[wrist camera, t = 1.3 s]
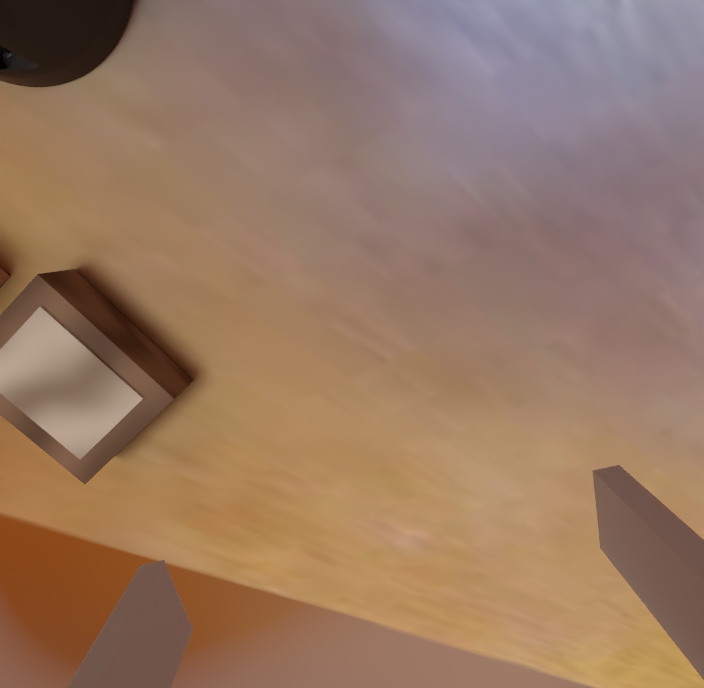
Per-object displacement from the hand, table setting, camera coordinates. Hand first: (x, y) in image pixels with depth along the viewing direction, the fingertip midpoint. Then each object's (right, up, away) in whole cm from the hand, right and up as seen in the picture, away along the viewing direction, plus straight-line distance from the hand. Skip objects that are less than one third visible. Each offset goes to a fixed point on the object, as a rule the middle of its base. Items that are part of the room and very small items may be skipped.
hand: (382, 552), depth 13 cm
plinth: (-21, +4, +22) cm, 31 cm away
